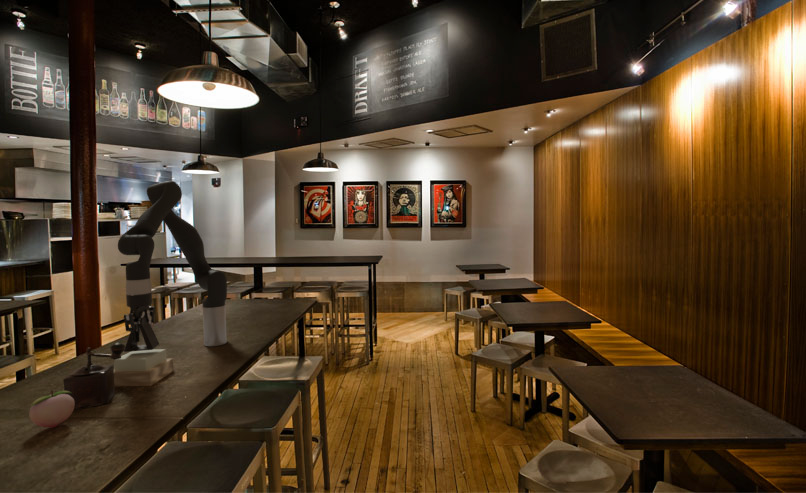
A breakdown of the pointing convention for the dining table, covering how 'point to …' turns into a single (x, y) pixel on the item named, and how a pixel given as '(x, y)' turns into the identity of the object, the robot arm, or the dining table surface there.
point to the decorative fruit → (52, 409)
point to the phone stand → (147, 335)
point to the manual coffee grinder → (93, 380)
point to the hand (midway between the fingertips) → (141, 339)
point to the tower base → (144, 375)
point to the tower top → (140, 360)
